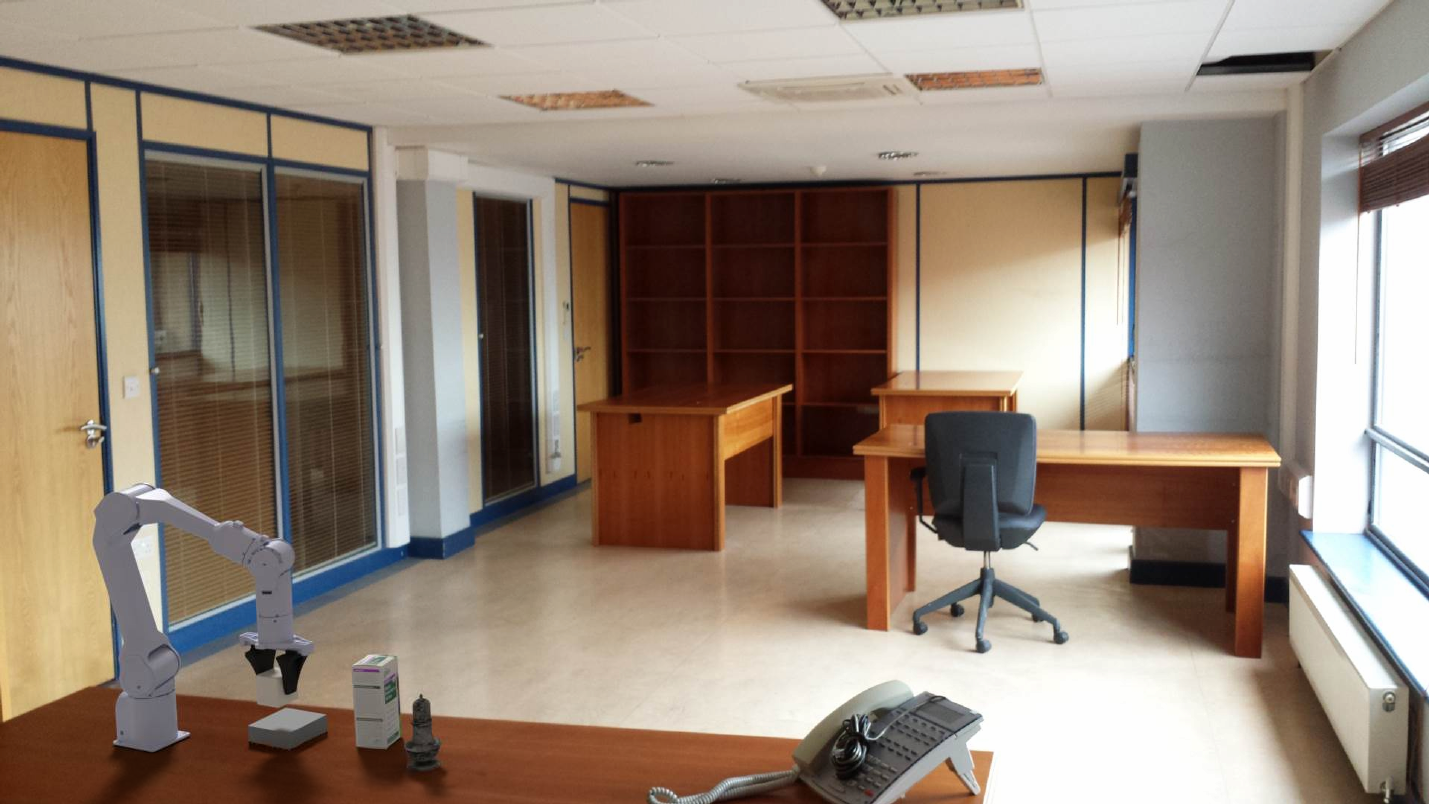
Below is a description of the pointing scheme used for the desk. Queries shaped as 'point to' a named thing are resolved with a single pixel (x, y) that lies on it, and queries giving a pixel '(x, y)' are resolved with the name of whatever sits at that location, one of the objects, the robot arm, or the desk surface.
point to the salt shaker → (422, 739)
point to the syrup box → (376, 701)
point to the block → (288, 728)
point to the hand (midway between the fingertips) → (278, 691)
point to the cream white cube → (272, 689)
